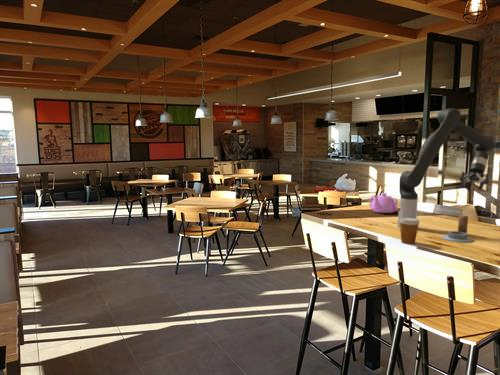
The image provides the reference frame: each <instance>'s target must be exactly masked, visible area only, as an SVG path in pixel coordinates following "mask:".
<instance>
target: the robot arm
mask: <svg viewBox="0 0 500 375" xmlns="http://www.w3.org/2000/svg"><path fill="white" fill-rule="evenodd" d="M461 114H462V113H461V111H460V110H459V109H457V108H444V109H442V110H440V111H439V112H438V113H437V115H436V118H437V121H438V122H439V124H441V125H440V126H439V127H438V128H437V129H436V130H435V131H434V132H433V133H431V135H429V136H428V137H427V138H426V139H425V140H424V141H423V143H422V145H421V147H420V149H419V152H418V156H417V158H418V159H417V162H416V164H415V165H414V167H413V168H412V170H405V171H403V172H402V173H401V175H400V177H399V195H400V204H399V209H398V215H397V218H398V219H397V227H399V228H400V222H399V220H400V218H402V217H410V218H416V219H418V218H417V216H418V215H417V214H418V202H419V201H418V199H419V198H418V197H419V196H418V193H417V192H416V190H415V188H417V187H418V186H420V185H421V183H422V181H423V179H424V178H425V175H426V173H427V171H428V169H429V167H430V166H431V164H432V163H433V160H434V159H435V157H436V156H437V155H438V153H439V151H440V150H441V147H442V146H443V144H444V143H445V142H446V140H447V138H448V137H449V136H450V134H451V132H452V131H453V132H455V133H457V134H458V135H459V136H460V137H462V138H463V139H465V141H467V142H469V143H470V144H471V145H474V148H473V149H474V156H473V160H472V161H471V165H470V168H469V171H468V172H467V173H465V172H461V175H460V177H459V182H460V183H461V184H460V185H461V188H462V189H465V187H466V183H468V182H470V181H471V182H474V181H475V182H479V184H478V185H479V187H478V189H479V190H482V189H483V188H484V185H488V184H489V181H490V173H489V172H487V173H486V174H485V172H486V168H487V165H488V164H487V163H488V160H489V153H488V152H490V151H493V150H494V149H495V148H496V143H495V141H494V140H493V139H492V138H490V137H488V136H486V135H483V134H480V133H479V131H477V130H476V129H474V128H473V127H471V126H469V125H467V124H465V123H463V122H462V121H460V119H461V116H462V115H461ZM483 178H485V180H484V179H483Z"/></svg>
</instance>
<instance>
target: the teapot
mask: <svg viewBox="0 0 500 375" xmlns="http://www.w3.org/2000/svg"><path fill="white" fill-rule="evenodd" d="M369 207H370V209H371V210H372V211H373V212H375V213H380V214H384V213H387V214H393V213H394V212H396V211H397V212H398V211H399V207H398V199H397V198H395V197H392V196H391V195H387V193H386V192H382V193H381V194H379V195H378V194H377V195H375V194H373V195H372V196H371V197H370V204H369Z"/></svg>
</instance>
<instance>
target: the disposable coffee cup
mask: <svg viewBox="0 0 500 375" xmlns="http://www.w3.org/2000/svg"><path fill="white" fill-rule="evenodd" d="M399 222H400V227H399V230H400V242H401V243H402V244H405V245H415V244H416V239H417V235H418V234H417V233H418V228H419V225H420V220H419V218H410V217H402V218H400V220H399Z"/></svg>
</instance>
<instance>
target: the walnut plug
mask: <svg viewBox="0 0 500 375" xmlns="http://www.w3.org/2000/svg"><path fill="white" fill-rule="evenodd" d="M468 223H469V216H468V215H459V216H458V226H457V231H459V232H464V233H467V234H468Z"/></svg>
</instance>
